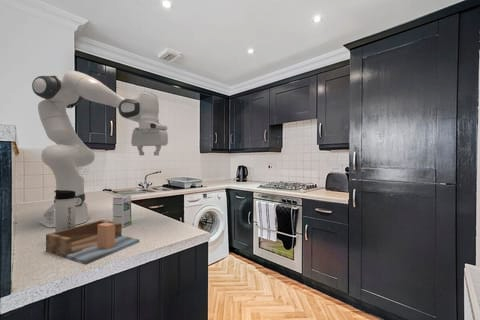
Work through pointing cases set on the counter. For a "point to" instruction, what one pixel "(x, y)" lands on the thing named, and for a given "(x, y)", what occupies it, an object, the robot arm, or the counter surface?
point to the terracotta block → (106, 235)
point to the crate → (85, 242)
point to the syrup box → (122, 209)
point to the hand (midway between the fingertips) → (148, 155)
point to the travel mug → (64, 209)
